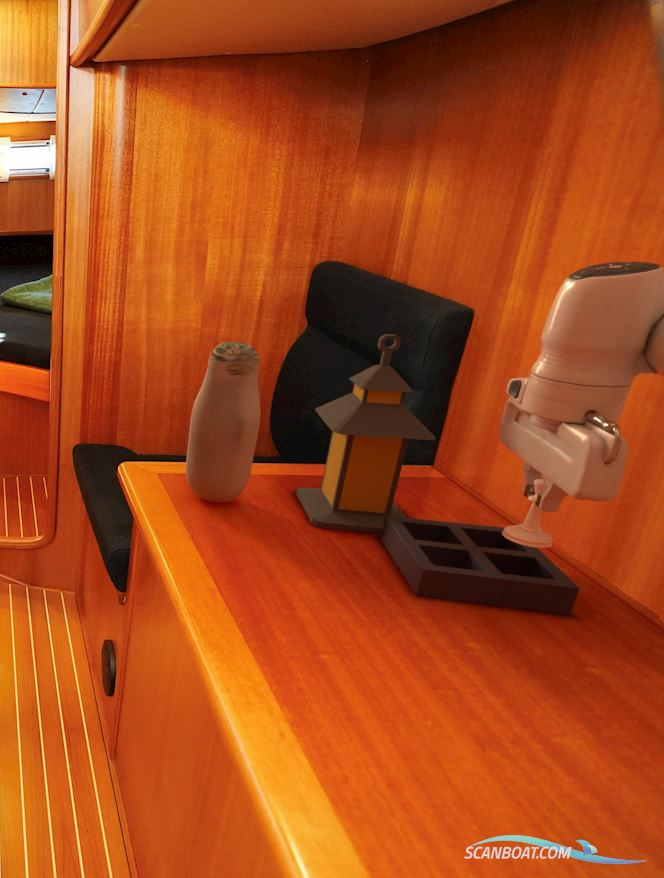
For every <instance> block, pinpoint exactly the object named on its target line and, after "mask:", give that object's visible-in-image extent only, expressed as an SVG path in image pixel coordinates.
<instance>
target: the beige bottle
mask: <svg viewBox="0 0 664 878" xmlns="http://www.w3.org/2000/svg"><path fill="white" fill-rule="evenodd" d="M260 364H261V363H260V356H259V352H258V351H257V350H256V348H254V347H253V346H252V345H251V344H248V343H246V342H243V341H226V342H221V343H219V344H218V345H216V347H215V348H213V350H212V352H211V353H210V356H209V358H208V362H207V369H206V372H205V376H204V378H203V381H202V384H201V386H200V389H199V392H198V393H197V395H196V398H195V400H194V403H193V406H192V409H191V414H190V415H191V416H190V424H189V431H188V440H187V441H188V443H187V452H186V458H185V459H186V460H185V477H186V481H187V484H188V486H189V488H190V489H191V491H192V492H193V493H194V494H195V495H196V496H197V497H199V498H201V499H202V500H204V501H208V502H211V503H217V504H224V503H228V502H232V501H234V500H236V499H237V498H238V497H240V496H241V495H242V494H243V492H244V490H245V489H246V488H247V485H249V482H250V479H251V474H252V467H253V462H254V456H255V450H256V446H257V441H258V437H259V430H260V424H261V400H260V399H261V398H260V390H259V373H260Z"/></svg>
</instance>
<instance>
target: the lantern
mask: <svg viewBox="0 0 664 878" xmlns="http://www.w3.org/2000/svg"><path fill="white" fill-rule="evenodd" d="M390 339H392V340H393V344H392V345H390V346H386V344H385V343H386V341H387V340H390ZM401 342H402V339H401V337H399V336H398V335H396V334H393V333H385V334H383V335H381V336H380V337H379V338H378V342H377V347H378V350H380V351H382V352H381V355H380V356H381V357H380V361H379V364H374V365H372V366H370V367H368V368H367V369H365V370H363V371H361V372H359V373H357V374H355V375H353V376H351V377H349V379H348V380H350V381H351V382H352V383H353V387H352V392H350V393H348V394H345V395H343V396H341V397H339V398H336V399H334V400H332V401H330V402H327V403H325V404H323V405H321V406H318V407H316V408H315V409H314V410H315V412H316V413H317V414H318V416H319V417H320V418H321V419H322V421H323V422H324V424H325V425H326V426H327V427H328V428H329V429H330V431H331V432H332V433H331V436H330V442H329V447H328V451H327V455H326V461H325V467H324V471H323V476H322V481H321V484H320V485H321V486H320V488H317V487H307V486H301V487H298V488H297V489H296V496H297V498H298V500H299V502H300V504H301V507H302V508H303V510H304V511H305V513H306V515H307V517H308V519H309V521H310V523H311V524H312V525H313V526H316V527H318V528H322V529H329V530H339V531H340V530H341V531H350V532H351V531H352V532H360V533H361V532H362V533H370V534H379V535H381V533H382V528H383V524H384V520H385V516H394V517H404V518H407V517H406V515H405V514H404V513H403V512H402V510H401V509H400V508H399V506H398V505H397V504H396V503H395V501H394V500H395V497H396V492H397V488H398V484H399V480H400V476H401V471H402V467H403V464H404V460H405V455H406V452H407V447H408V443H409V440H421V441H435V440H436V436H434V434H433V433H432V432H431V431H429V429H428V428H427V427H426V426H425V425H424V424H423V423H422V422H421V421H420V420H419V419H418V418H417V417H416V416H415V415H414V414H413V413H412V412H411V411H410V410H409V409H408V408H407V407H406V406H405V404H404V402H405V397H406V393H412V392H414V391H413V390H412V388H411V387H410V385H409V384H408V383H407V382H406V381H405V380H404V379H403V378H402V376H400V374H399V373H398V372H397V371H396V370H395V368H393V367H392V366H391V365H390V363H391V360H392V356H393V355H392V354H393V352H396V351H397V352H398V350H399V349H400V347H401Z"/></svg>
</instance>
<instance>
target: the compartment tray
mask: <svg viewBox="0 0 664 878" xmlns="http://www.w3.org/2000/svg"><path fill="white" fill-rule="evenodd" d="M504 528H505V527H502V526H491V525H483V524H473V523H472V524H471V523H461V522H452V521H443V520H442V521H441V520H434V519H433V520H432V519H424V518H414V517H413V518H412V517H406V518H404V517H394V516H385V520H384V524H383V528H382V533H381V534H380V537H379V539H380V541H381V543H382V544H383V546H384V548H385V549H386V551H387V552H388V553H389V555H390V556H391V558H392V559H393V561H394V562H395V564H396V566H397V567H398V569H399V570H400V572H401V573H402V575H403V576H404V578H405V580H406V581H407V583H408V584H409V586H410V587H411V589H412V590H413V592H414V594H415V595H416V596H418V597H428V598H434V599H443V600H451V601H458V602H466V603H472V604H479V605H480V604H481V605H489V606H496V607H504V608H509V609H511V608H512V609H520V610H525V611H533V612H540V613H542V612H543V613H550V614H556V615H563V616H564V615H565V616H571V614H572V612H573V608H574V606H575V603H576V600H577V598H578V595H579V592H580V587H579V586H578V585H577V584H576V583H575V582H574V581H573V580H572V579H571V578H570V577H569V576H567V575H566V574H565V572H563V571H562V570H561V569H560V568H559V567H558V566H557V565H556V564H555V563H554V562H553V561H551V559H550V558H548V556H547V555H545V554H544V552H542V551H541V549H540V548H536V547H529V546H525V545H521V544H518V543H515V542H512V541H510V540H508V539H507V538H505V537H504V536H503V535H502V531H504Z"/></svg>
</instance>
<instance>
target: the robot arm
mask: <svg viewBox="0 0 664 878" xmlns="http://www.w3.org/2000/svg"><path fill="white" fill-rule="evenodd" d="M540 342H541V349H540V350H541V351H540V354H539V356H538V358H537V360H536V361H535V362H534V364H533V365H532V367H531V370H530V372H529V376H527V377H516V378H510V379H509V380H508V383H507V385H506V389H505V392H506V394H507V395H508V396H509V397H508V398H507V400H506V401H505V405H504V408H503V411H502V416H501V420H500V425H499V430H498V435H499V442H500V443H501V445H503V446H504V447H505V448H507V450H509V451H510V452H512V453H513V454H515V455H516V456H517V457H518V458H520V459H521V460H522V461H524V463H523V466H522V472H523V482H524V483H523V486H522V490H521V494H522V495H523V496H524V497H525V498H526V499H528V497H529V496H530V495H535V487H534V480H536V479H543V477H541V474H542V475H544V476H545V477H546V478H547V481H546V485H547V486H548V487H547V489H546V490H545V491H544V493H543V494H538V496H537V501H536V502H535V505H536V506H537V507H538V508H540V509H541V510H542V512H545V513H556V512H558V511H559V509H560V507H561V504H562V501H563V500H565V498H567V497H568V496H570V497H571V498H573V499H575V500H579V501H588V502H599V503H600V502H601V503H607V502H610V501H612V500H613V499H614V498H615V497H617V496H618V493H619V491H620V488H621V484H622V481H623V477H624V472H625V469H626V464H627V460H628V453H629V451H628V450H629V449H628V448H629V447H628V443H627V441H626V439H625V438H624V437H623V436H622V434H621V432H620V428H621V427H620V425H619V423H618V422H619V421H620V419H621V416H622V413H623V411H624V408H625V405H626V402H627V399H628V396H629V393H630V391H631V388H632V385H633V382H634V381H635V378H636V377H637V376H639V375H643V374H653V375H655V374H656V375H658V376H660V377H662V378H663V379H664V268H663V266H662V265H660V264H658V263H654V262H648V261H616V262H615V261H614V262H605V263H600V264H599V263H598V264H593V265H589V266H586V267H583V268H580V269H578V270H576V271H574V272H572V273H571V274H569V276H567V278H566V279H565V280H564V281H563V283H562V284H561V286H560V287H559V289H558V291H557V293H556V295H555V297H554V299H553V302H552V304H551V306H550V309H549V311H548V314H547V317H546V320H545V323H544V326H543V329H542V332H541V336H540Z"/></svg>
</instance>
